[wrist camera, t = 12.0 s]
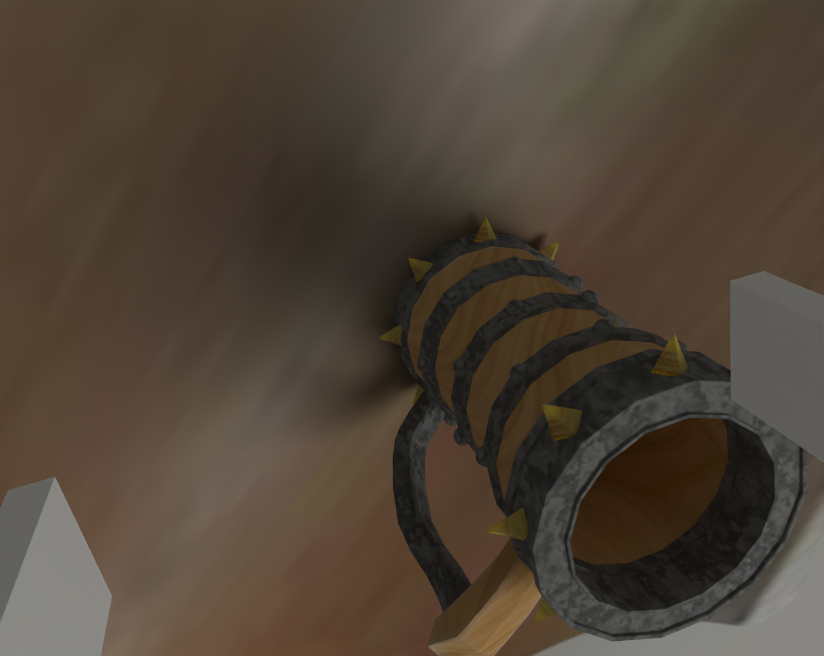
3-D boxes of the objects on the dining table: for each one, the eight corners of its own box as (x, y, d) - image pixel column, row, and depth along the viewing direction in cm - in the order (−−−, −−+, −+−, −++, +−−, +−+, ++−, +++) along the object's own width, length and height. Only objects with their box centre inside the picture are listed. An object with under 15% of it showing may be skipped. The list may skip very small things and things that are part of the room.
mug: (618, 300, 44) (894, 474, 26) (434, 498, 46) (576, 786, 28) (479, 162, 39) (709, 263, 21) (278, 393, 41) (330, 668, 23)
